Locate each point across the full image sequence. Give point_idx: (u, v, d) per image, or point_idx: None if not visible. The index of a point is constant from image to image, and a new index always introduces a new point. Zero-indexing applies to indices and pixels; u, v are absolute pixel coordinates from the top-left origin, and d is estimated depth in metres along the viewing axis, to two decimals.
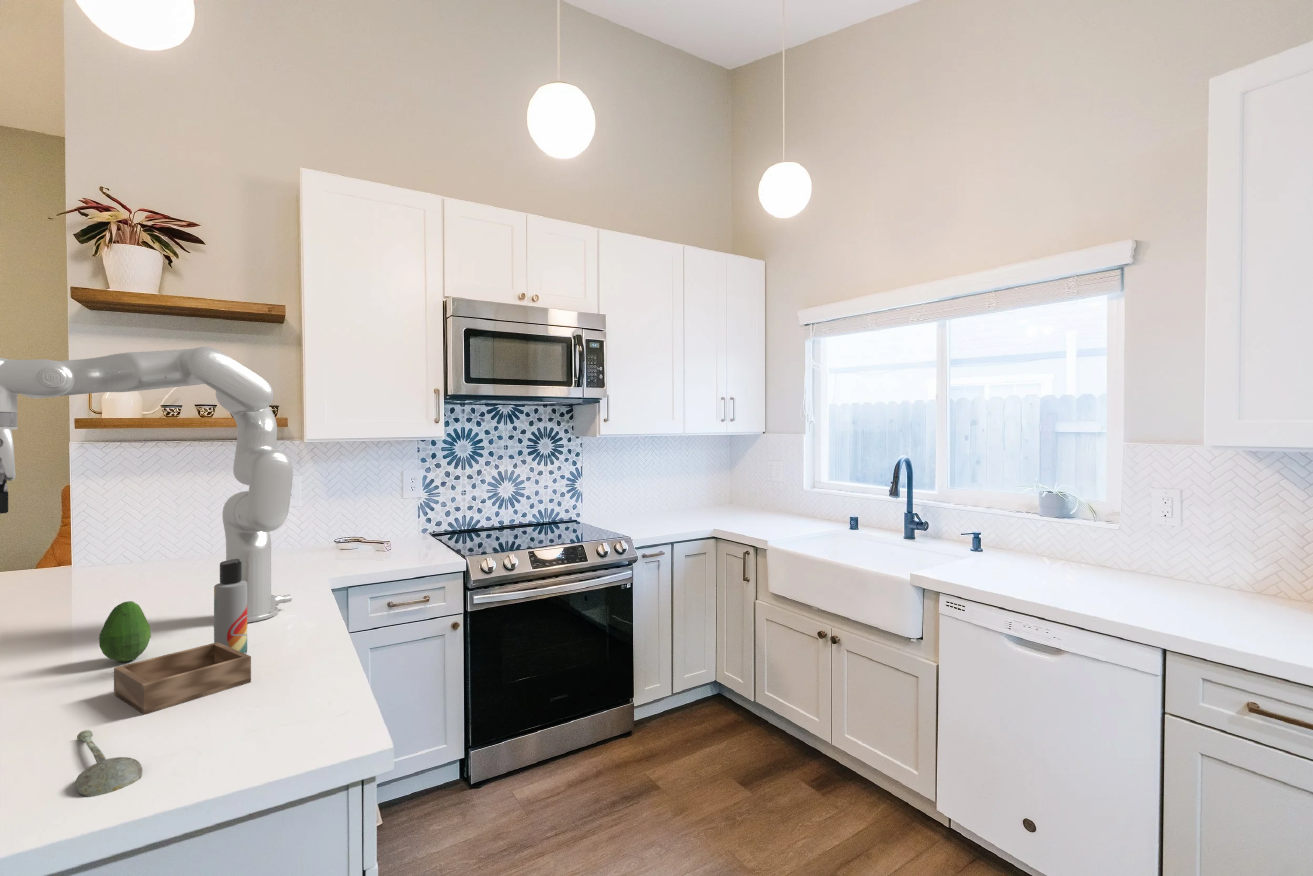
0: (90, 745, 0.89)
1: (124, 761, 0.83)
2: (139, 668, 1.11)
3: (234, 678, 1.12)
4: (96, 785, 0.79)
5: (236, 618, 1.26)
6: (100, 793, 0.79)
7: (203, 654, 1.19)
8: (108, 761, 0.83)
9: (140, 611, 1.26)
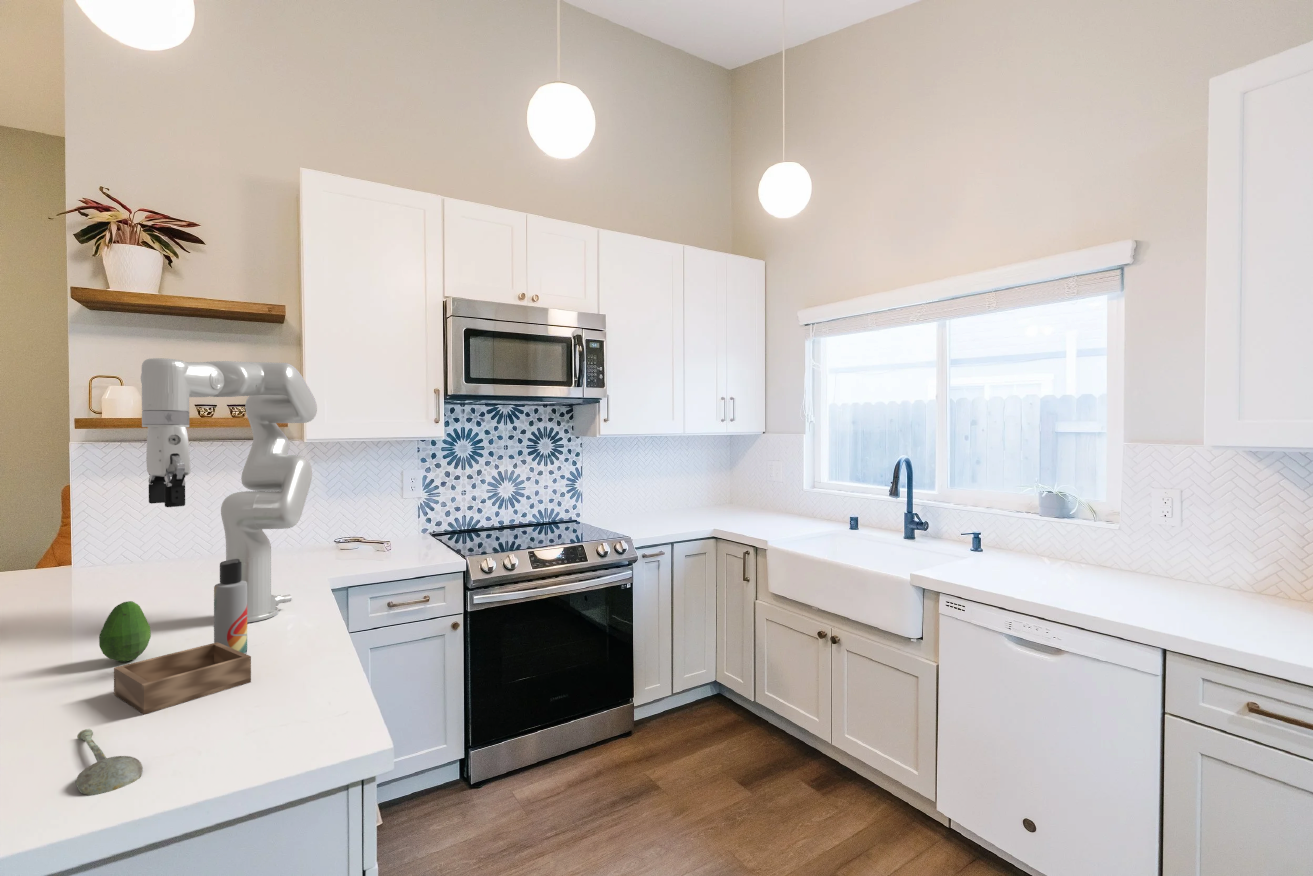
0: (90, 744, 0.89)
1: (124, 759, 0.83)
2: (139, 668, 1.11)
3: (234, 678, 1.12)
4: (97, 783, 0.80)
5: (236, 618, 1.26)
6: (100, 792, 0.79)
7: (203, 654, 1.19)
8: (108, 760, 0.83)
9: (140, 611, 1.26)
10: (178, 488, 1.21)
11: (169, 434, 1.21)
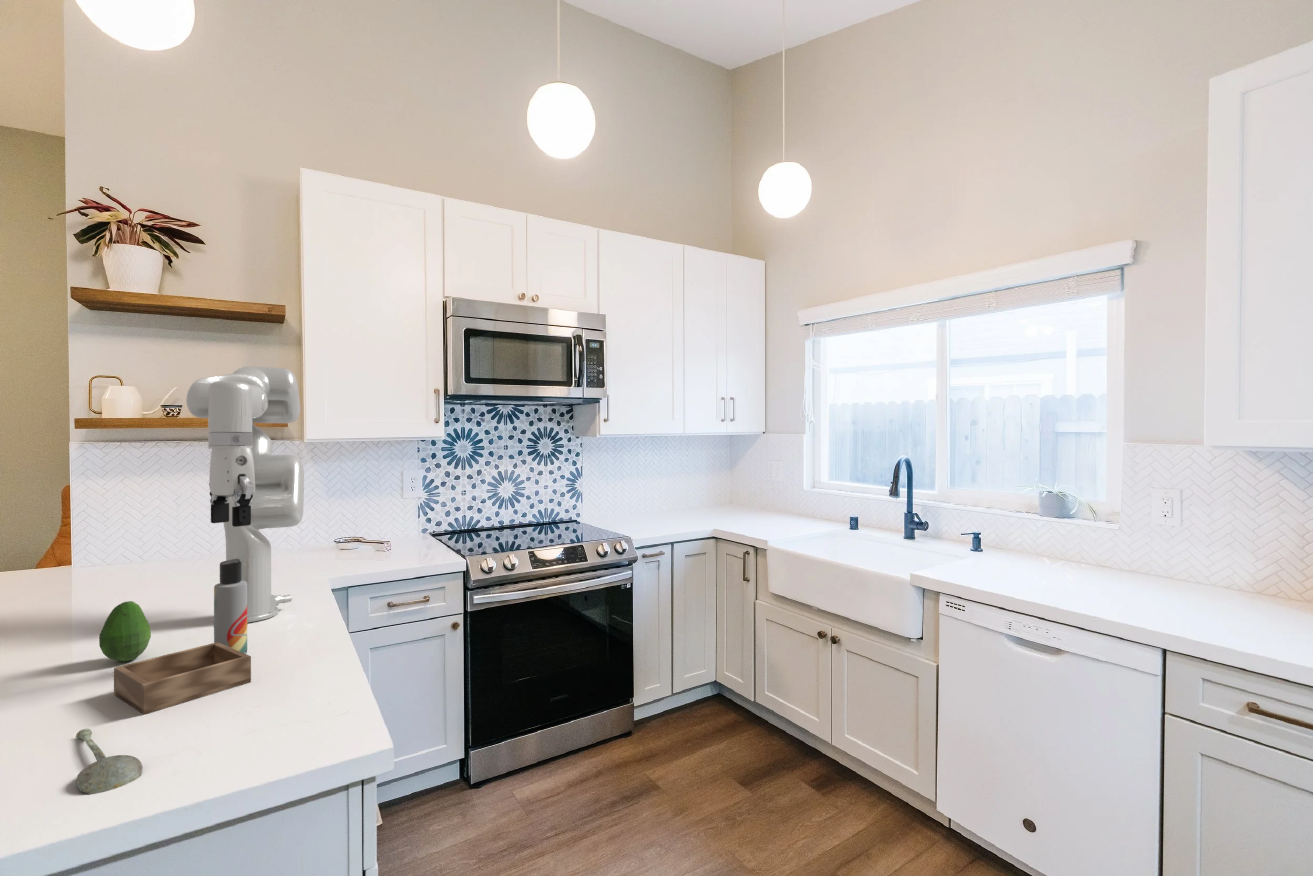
0: (89, 743, 0.89)
1: (124, 759, 0.84)
2: (139, 668, 1.11)
3: (234, 678, 1.12)
4: (97, 782, 0.80)
5: (236, 618, 1.26)
6: (100, 791, 0.79)
7: (203, 654, 1.19)
8: (108, 759, 0.83)
9: (140, 611, 1.26)
10: (245, 508, 1.24)
11: (236, 455, 1.24)
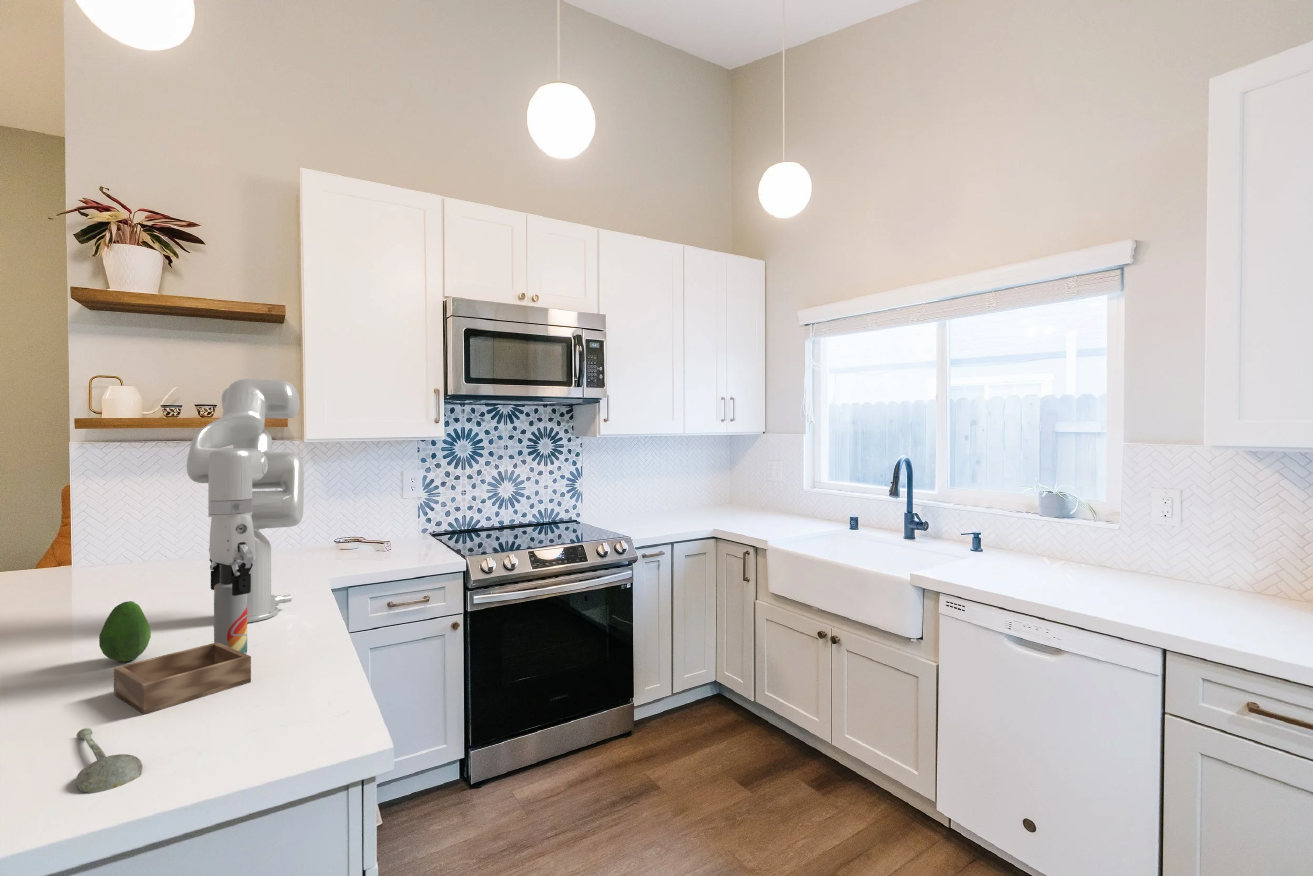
0: (89, 742, 0.89)
1: (124, 758, 0.84)
2: (139, 668, 1.11)
3: (234, 678, 1.12)
4: (97, 782, 0.80)
5: (236, 618, 1.26)
6: (101, 790, 0.80)
7: (203, 654, 1.19)
8: (108, 758, 0.83)
9: (140, 611, 1.26)
10: (245, 576, 1.24)
11: (236, 524, 1.24)
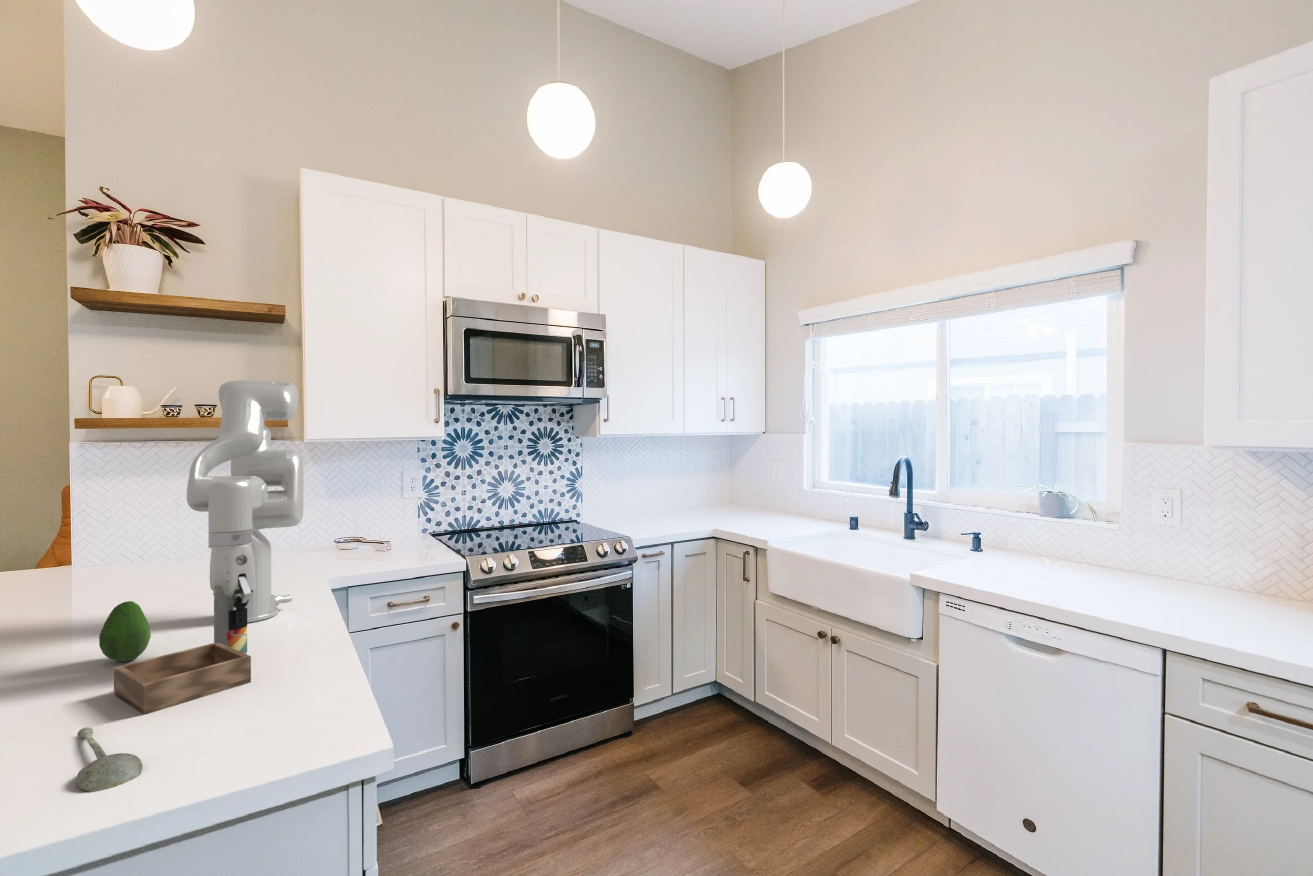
0: (90, 741, 0.90)
1: (124, 757, 0.84)
2: (139, 668, 1.11)
3: (234, 678, 1.12)
4: (97, 780, 0.80)
5: None
6: (100, 789, 0.80)
7: (203, 654, 1.19)
8: (108, 757, 0.84)
9: (140, 611, 1.26)
10: (241, 611, 1.26)
11: (237, 555, 1.24)
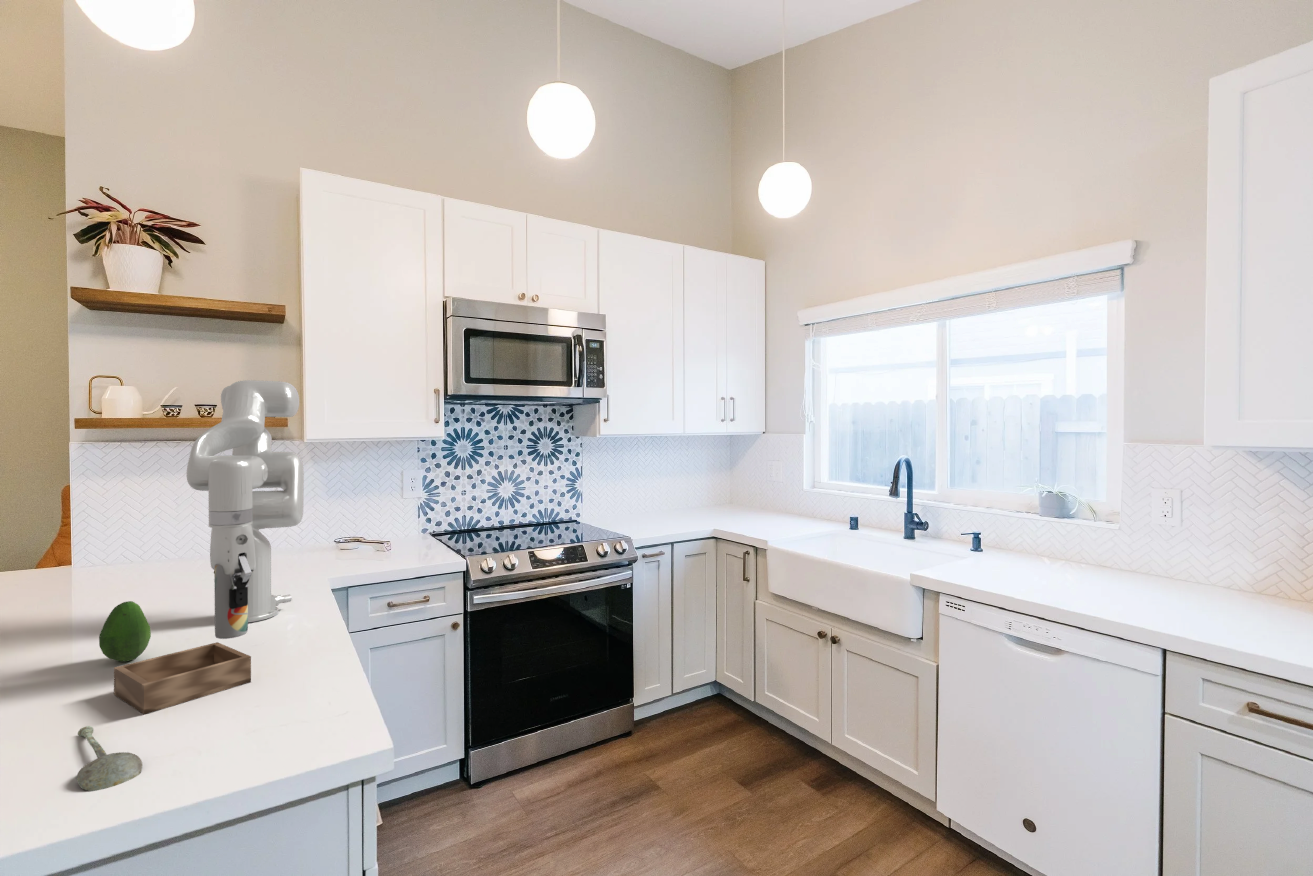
0: (90, 740, 0.90)
1: (124, 756, 0.84)
2: (139, 668, 1.11)
3: (234, 678, 1.12)
4: (97, 779, 0.81)
5: None
6: (101, 788, 0.80)
7: (203, 654, 1.19)
8: (108, 756, 0.84)
9: (140, 611, 1.26)
10: (242, 590, 1.26)
11: (237, 534, 1.25)
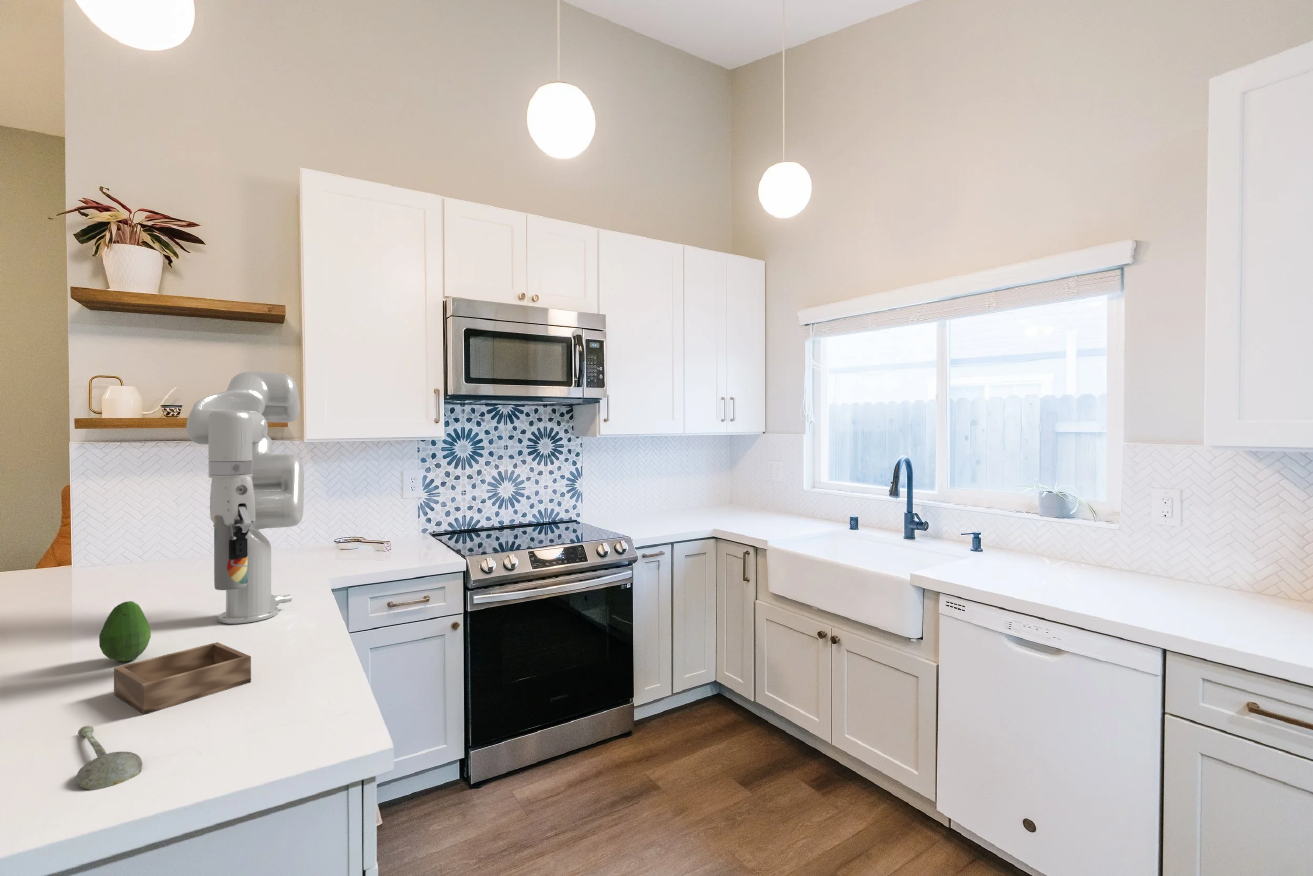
0: (90, 740, 0.90)
1: (124, 755, 0.85)
2: (139, 668, 1.11)
3: (234, 678, 1.12)
4: (97, 778, 0.81)
5: None
6: (101, 787, 0.80)
7: (203, 654, 1.19)
8: (108, 755, 0.84)
9: (140, 611, 1.26)
10: (241, 541, 1.26)
11: (237, 485, 1.24)
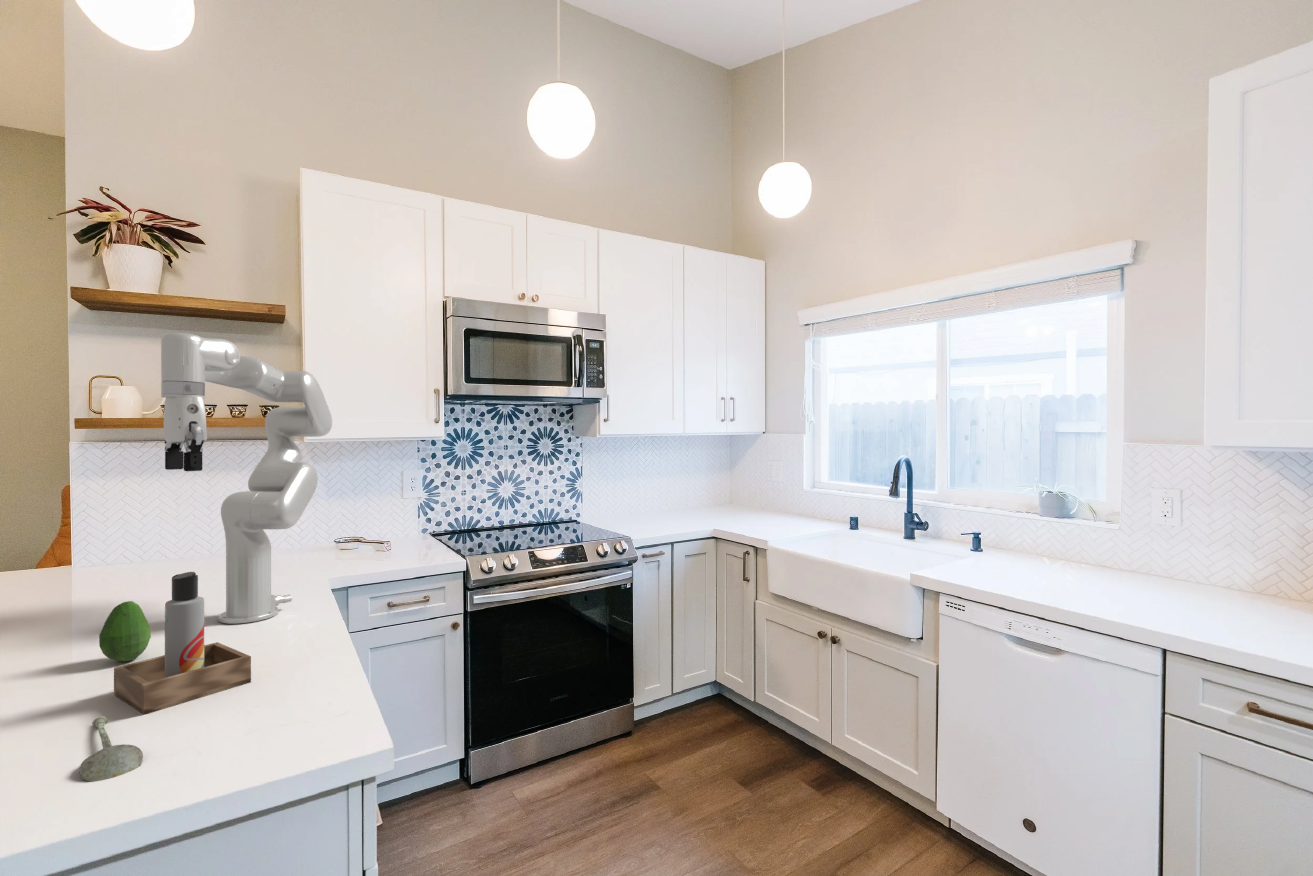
0: (100, 731, 0.93)
1: (126, 748, 0.86)
2: (139, 668, 1.11)
3: (234, 678, 1.12)
4: (98, 771, 0.83)
5: (190, 640, 1.10)
6: (100, 779, 0.82)
7: None
8: (111, 748, 0.86)
9: (140, 611, 1.26)
10: (196, 453, 1.30)
11: (188, 403, 1.30)
